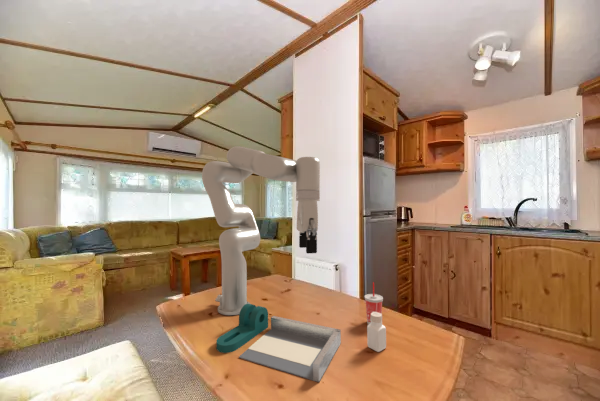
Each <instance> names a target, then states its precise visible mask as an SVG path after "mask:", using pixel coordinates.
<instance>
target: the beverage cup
mask: <svg viewBox="0 0 600 401" xmlns="http://www.w3.org/2000/svg"><path fill="white" fill-rule="evenodd" d="M364 300H365V309H366V311H365V312H366V321H367V322H366V323H367V325H369V324H370V323H371V313H372V312H378V313H381V314H382V315H383V313H382V310H383V301H384V297H383V295H380V294H377V293H375V282H374V281H372V293H367V294H365V295H364Z"/></svg>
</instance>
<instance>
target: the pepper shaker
mask: <svg viewBox="0 0 600 401" xmlns="http://www.w3.org/2000/svg"><path fill="white" fill-rule="evenodd" d="M366 333H367V336H366V337H367V340H366V341H367V347H368V348H369V349H372V350H373V351H375V352H377V353H380V352H382V351H384V349H386V348H387V328H386V326H385V325H384V324H383V313H382V314H381V313H378V312H372V313H371V323H370V324H367V326H366Z"/></svg>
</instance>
